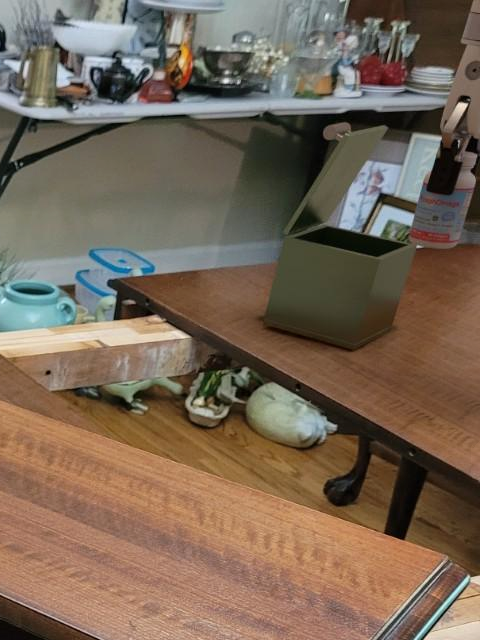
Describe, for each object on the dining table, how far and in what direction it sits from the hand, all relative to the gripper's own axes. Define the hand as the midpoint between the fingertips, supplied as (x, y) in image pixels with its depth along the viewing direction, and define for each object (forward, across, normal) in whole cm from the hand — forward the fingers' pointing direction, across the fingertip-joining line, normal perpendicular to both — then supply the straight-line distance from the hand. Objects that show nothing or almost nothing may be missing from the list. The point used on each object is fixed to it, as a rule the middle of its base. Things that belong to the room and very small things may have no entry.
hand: (448, 188), depth 140 cm
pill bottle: (+7, 0, 0) cm, 7 cm away
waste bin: (+26, +15, +15) cm, 33 cm away
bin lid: (+4, +15, +20) cm, 25 cm away
